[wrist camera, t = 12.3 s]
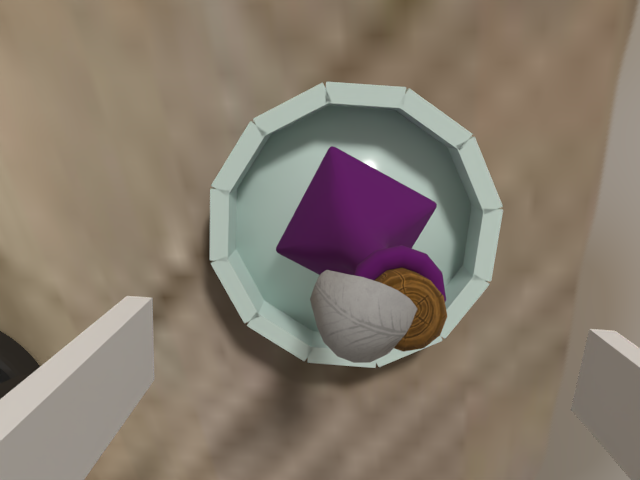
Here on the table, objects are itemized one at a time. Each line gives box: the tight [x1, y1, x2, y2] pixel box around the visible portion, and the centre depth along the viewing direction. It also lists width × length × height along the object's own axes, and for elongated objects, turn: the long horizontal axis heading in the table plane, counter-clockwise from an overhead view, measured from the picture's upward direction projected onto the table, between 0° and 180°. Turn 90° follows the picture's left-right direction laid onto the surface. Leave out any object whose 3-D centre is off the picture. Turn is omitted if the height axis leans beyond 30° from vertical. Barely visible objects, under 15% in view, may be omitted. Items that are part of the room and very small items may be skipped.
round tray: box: [210, 82, 503, 368], centre depth 30 cm, size 18×18×4 cm
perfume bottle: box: [276, 146, 447, 363], centre depth 22 cm, size 8×8×18 cm
